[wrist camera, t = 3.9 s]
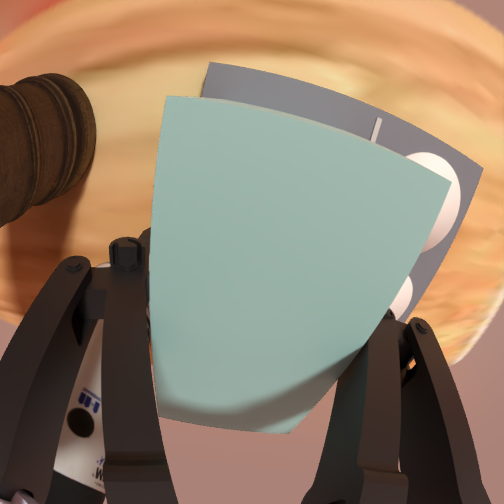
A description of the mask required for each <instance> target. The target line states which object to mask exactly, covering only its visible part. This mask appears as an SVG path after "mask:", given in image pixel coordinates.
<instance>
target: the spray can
mask: <svg viewBox="0 0 504 504" xmlns="http://www.w3.org/2000/svg"><path fill="white" fill-rule="evenodd" d="M97 267H110V262H106V263H103V264H100V265H98V266H97ZM146 315H147V330H148V343H149V342H150V340H151V326H150V311H149V303H148V306H147V308H146ZM103 322H104V319H98V322H97V324H96V327H95V329H94V332H93V334H92V337H91V339H90V342H89V344H88V347H87V350H86V352H85V355H84V358H83V361H82V364H81V366H80V369H79V372H78V375H77V378H76V381H75V384H74V388H73V391H72V394H71V397H70V401H69V404H68V408H67V411H66V415H65V419H64V423H63V427H62V431H61V435H60V439H59V444H58V448H57V453H56V458H55V464H54V469H53V475H52V480H51V485H50V490H49V493H48V496H47V499H46V502H45V504H103V502H104V499H105V497H106V494H105V488H104V482H103V473H102V470H103V463H104V461H105V448H104V438H103V426H102V407H101V354H102V335H103Z"/></svg>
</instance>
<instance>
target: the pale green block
mask: <svg viewBox="0 0 504 504" xmlns="http://www.w3.org/2000/svg"><path fill="white" fill-rule="evenodd" d="M451 183H452V182H451V181H450V180H448V179H446V178H444V177H443V176H441V175H439V174H437V173H435V172H434V171H432V170H430V169H428V168H426V167H424V166H422V165H421V164H419V163H417V162H415V161H413V160H411V159H409V158H407V157H405V156H403V155H401V154H398V153H396V152H394V151H392V150H390V149H388V148H385V147H383V146H381V145H379V144H376V143H374V142H372V141H369V140H367V139H365V138H362V137H360V136H357V135H355V134H352V133H350V132H347V131H344V130H341V129H338V128H335V127H332V126H329V125H326V124H323V123H320V122H317V121H313V120H310V119H307V118H303V117H300V116H296V115H292V114H289V113H285V112H281V111H277V110H273V109H269V108H264V107H260V106H255V105H251V104H246V103H241V102H235V101H230V100H224V99H216V98H204V97H188V96H167V97H166V102H165V108H164V114H163V120H162V126H161V132H160V139H159V147H158V154H157V162H156V171H155V181H154V192H153V204H152V219H151V238H150V326H151V345H152V359H153V371H154V381H155V391H156V399H157V407H158V414H159V417H163V418H167V419H172V420H177V421H181V422H186V423H192V424H197V425H203V426H209V427H216V428H223V429H231V430H240V431H251V432H264V433H284V434H289V433H290V432H291V431H292V430H293V429H294V428H295V427H296V426H297V425H298V423H300V422H301V421H302V419H303V418H304V417H305V416H306V415H307V414H308V413H309V412H310V411H311V410H312V409H313V408H314V406H315V405H316V404H317V403H318V402H319V401H320V400H321V398H322V397H323V396H324V395H325V394H326V393H327V391H328V390H329V389H330V388H331V387H332V386H333V384H334V383H335V382H336V381H337V380H338V378H339V377H340V376H341V375H342V373H343V372H344V371H345V369H346V368H347V367H348V366H349V364H350V363H351V362H352V360H353V359H354V358H355V356H356V355H357V354H358V352H359V351H360V350H361V348H362V347H363V346H364V344H365V343H366V341H367V340H368V339H369V337H370V336H371V334H372V333H373V331H374V330H375V328H376V327H377V325H378V324H379V322H380V321H381V319H382V318H383V316H384V315H385V313H386V312H387V310H388V309H389V307H390V305H391V304H392V302H393V301H394V299H395V297H396V296H397V294H398V292H399V291H400V289H401V287H402V286H403V284H404V282H405V280H406V279H407V277H408V275H409V273H410V271H411V270H412V268H413V266H414V264H415V262H416V260H417V259H418V257H419V255H420V253H421V251H422V249H423V247H424V245H425V243H426V241H427V239H428V237H429V235H430V233H431V230H432V228H433V226H434V224H435V222H436V220H437V217H438V215H439V213H440V211H441V208H442V206H443V203H444V201H445V199H446V196H447V194H448V191H449V189H450V186H451Z"/></svg>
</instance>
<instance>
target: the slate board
mask: <svg viewBox="0 0 504 504" xmlns="http://www.w3.org/2000/svg"><path fill="white" fill-rule="evenodd" d="M202 97H204V98H216V99H224V100H230V101H235V102H241V103H246V104H251V105H255V106H260V107H264V108H269V109H273V110H277V111H281V112H285V113H289V114H292V115H296V116H300V117H303V118H307V119H310V120H313V121H317V122H320V123H323V124H326V125H329V126H332V127H335V128H338V129H341V130H344V131H347V132H350V133H352V134H355V135H357V136H360V137H362V138H365V139H367V140H369V141H372V142H374V143H376V144H379V145H381V146H383V147H385V148H388V149H390V150H392V151H394V152H396V153H398V154H401V155H403V156H405V157H407V158H409V159H411V160H413V161H415V162H417V163H419V164H421V165H422V166H424V167H426V168H428V169H430V170H432V171H434V172H435V173H437V174H439V175H441V176H443V177H444V178H446V179H448V180H450V181H451V182H452V183H451V186H450V189H449V191H448V194H447V196H446V199H445V201H444V203H443V206H442V208H441V211H440V213H439V215H438V217H437V220H436V222H435V224H434V226H433V228H432V230H431V233H430V235H429V237H428V239H427V241H426V243H425V245H424V247H423V249H422V251H421V253H420V255H419V257H418V259H417V260H416V262H415V264H414V266H413V268H412V270H411V271H410V273H409V275H408V277H407V279H406V280H405V282H404V284H403V286H402V287H401V289H400V291H399V292H398V294H397V296H396V297H395V299H394V301H393V302H392V304H391V305H390V307H389V308H390V309H391V310H392V311H393V313H394V314H395V317H396V320H397V321H400V322H402V323H404V322H405V321H406V320H407V318H408V317H409V315H410V314H411V312H412V311H413V309H414V308H415V306H416V305H417V303H418V302H419V300H420V299H421V297H422V295H423V294H424V292H425V291H426V289H427V287H428V286H429V284H430V282H431V281H432V279H433V277H434V276H435V274H436V272H437V270H438V269H439V267H440V265H441V263H442V261H443V259H444V258H445V256H446V254H447V252H448V250H449V248H450V246H451V244H452V242H453V240H454V238H455V236H456V234H457V232H458V230H459V228H460V226H461V224H462V221H463V219H464V217H465V215H466V212H467V210H468V208H469V205H470V203H471V200H472V198H473V195H474V193H475V190H476V188H477V185H478V182H479V180H480V177H481V174H482V171H483V168H482V167H481V166H480V165H478V164H477V163H475V162H474V161H472V160H471V159H469V158H468V157H467V156H465V155H463V154H462V153H460V152H459V151H457V150H456V149H454V148H453V147H451V146H449V145H448V144H446V143H444V142H443V141H441V140H439V139H438V138H436V137H434V136H432V135H431V134H429V133H427V132H425V131H423V130H421V129H420V128H418V127H416V126H414V125H412V124H410V123H408V122H406V121H404V120H402V119H400V118H398V117H396V116H394V115H392V114H389V113H387V112H385V111H383V110H381V109H378V108H376V107H374V106H371V105H369V104H366V103H364V102H362V101H359V100H357V99H354V98H351V97H349V96H346V95H343V94H341V93H338V92H335V91H332V90H329V89H326V88H323V87H320V86H317V85H314V84H310V83H307V82H304V81H300V80H297V79H293V78H289V77H285V76H281V75H277V74H273V73H269V72H265V71H260V70H255V69H250V68H245V67H240V66H234V65H228V64H221V63H214V62H210V63H209V67H208V71H207V75H206V79H205V84H204V88H203V93H202Z"/></svg>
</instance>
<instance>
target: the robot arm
mask: <svg viewBox="0 0 504 504" xmlns="http://www.w3.org/2000/svg"><path fill="white" fill-rule="evenodd" d="M150 238H151V227H150V228H148V229H146V230H144V231H143V232H142V234H141V235H140V237H139V238H138V239H137V238H132V237H122V238H118V239H115V240H114V241H113V242H111V244H110V245H109V255H110V267H91V264H90V261H89V260H88V259H87V258H86V257H83V256H71V257H68V258H66V259H64V260H63V261H62V262H61V263H60V264H59V265H58V267H57V268H56V269H55V271H54V272H53V273H52V275H51V276H50V278H49V279H48V281H47V282H46V284H45V285H44V286H43V288H42V289H41V291H40V292H39V294H38V295H37V297H36V299H35V300H34V302H33V303H32V305H31V306H30V308H29V310H28V311H27V313H26V315H25V316H24V318H23V320H22V321H21V323H20V325H19V326H18V328H17V330H16V332H15V334H14V335H13V337H12V339H11V341H10V343H9V345H8V347H7V349H6V351H5V353H4V355H3V356H2V359H1V361H0V504H45V502H46V499H47V496H48V493H49V490H50V485H51V480H52V475H53V469H54V464H55V458H56V453H57V448H58V444H59V439H60V435H61V431H62V427H63V423H64V419H65V415H66V411H67V408H68V404H69V401H70V397H71V394H72V391H73V388H74V384H75V381H76V378H77V375H78V372H79V369H80V366H81V364H82V361H83V358H84V355H85V352H86V350H87V347H88V344H89V342H90V339H91V337H92V334H93V332H94V329H95V327H96V324H97V322H98V319H104V322H103V335H102V354H101V407H102V426H103V438H104V448H105V461H104V463H103V470H102V473H103V482H104V488H105V494H106V499H107V504H178V500H177V497H176V494H175V490H174V486H173V483H172V479H171V475H170V472H169V467H168V463H167V459H166V455H165V451H164V446H163V441H162V436H161V431H160V426H159V421H158V414H157V409H156V403H155V395H154V388H153V381H152V373H151V364H150V354H149V343H148V330H147V315H146V308H147V306H148V303H149V311H150ZM413 359H415V362H416V365H415V366H414V367H413V368H412V369H410V367H409V364H410V363H411V361H412V360H413ZM398 459H399V461H400V469H401V472H399V470H398ZM301 504H491V502H490V500H489V497H488V495H487V493H486V490H485V488H484V486H483V484H482V480H481V475H480V469H479V464H478V460H477V455H476V451H475V447H474V443H473V439H472V435H471V431H470V428H469V425H468V421H467V418H466V414H465V411H464V409H463V405H462V402H461V399H460V397H459V394H458V391H457V388H456V385H455V383H454V380H453V377H452V375H451V372H450V369H449V367H448V364H447V362H446V360H445V357H444V355H443V353H442V350H441V348H440V346H439V343H438V341H437V339H436V337H435V335H434V332H433V330H432V328H431V327H430V325H429V324H428V323H427V322H426V321H425V320H423V319H420V318H418V317H413V318H412V319H411V320H410V321H409V323H408V324H405V323H402V322H400V321H397V320H396V317H395V314H394V313H393V311H392V310H391V309H390V308H389V309H388V310H387V312H386V313H385V315H384V316H383V318H382V319H381V321H380V322H379V324H378V325H377V327H376V328H375V330H374V331H373V333H372V334H371V336H370V337H369V339H368V340H367V341H366V343H365V344H364V346H363V347H362V348H361V350H360V351H359V352H358V354H357V355H356V356H355V358H354V359H353V360H352V362H351V363H350V364H349V366H348V367H347V368H346V369H345V371H344V372H343V373H342V375H341V376H340V377H339V378H338V382H337V387H336V393H335V398H334V404H333V409H332V413H331V418H330V422H329V427H328V431H327V435H326V439H325V444H324V448H323V452H322V456H321V459H320V463H319V466H318V470H317V473H316V477H315V480H314V483H313V485H312V487H311V488H310V489H309V491H308V492H307V493H306V495H305V496H304V498H303V500H302V502H301Z"/></svg>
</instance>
